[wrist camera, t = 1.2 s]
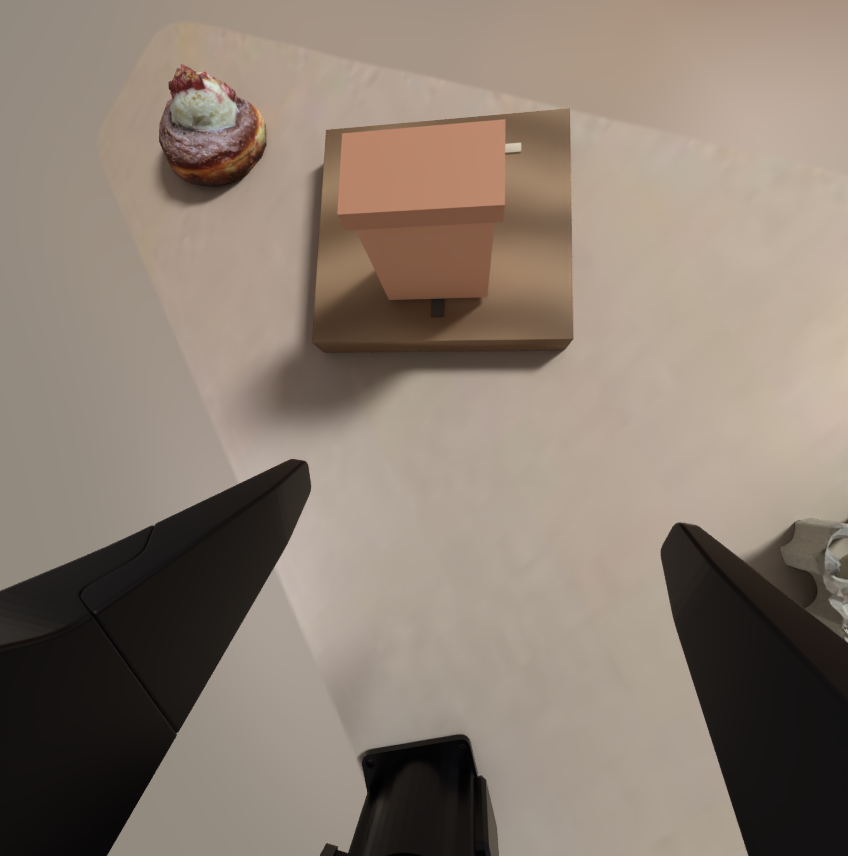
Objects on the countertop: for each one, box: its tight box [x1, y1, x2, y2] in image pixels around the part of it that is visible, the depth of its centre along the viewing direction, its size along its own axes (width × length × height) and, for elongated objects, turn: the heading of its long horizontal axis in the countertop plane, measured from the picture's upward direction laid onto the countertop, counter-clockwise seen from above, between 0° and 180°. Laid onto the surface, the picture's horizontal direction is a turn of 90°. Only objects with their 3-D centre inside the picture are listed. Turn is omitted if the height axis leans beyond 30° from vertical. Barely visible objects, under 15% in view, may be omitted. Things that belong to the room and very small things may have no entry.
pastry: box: [159, 64, 266, 186], centre depth 27 cm, size 8×8×5 cm
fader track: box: [312, 109, 573, 352], centre depth 25 cm, size 15×16×2 cm
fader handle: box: [337, 119, 505, 300], centre depth 19 cm, size 4×7×8 cm, turn 88°
